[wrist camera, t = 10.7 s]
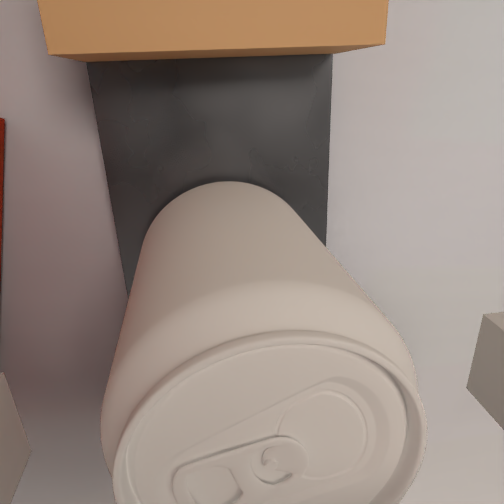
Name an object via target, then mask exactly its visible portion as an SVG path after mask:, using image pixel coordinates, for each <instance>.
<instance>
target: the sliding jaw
mask: <svg viewBox="0 0 504 504" xmlns="http://www.w3.org/2000/svg"><path fill="white" fill-rule="evenodd" d="M388 1H389V0H37V2H38V7H39V11H40V16H41V21H42V26H43V30H44V35H45V40H46V45H47V50H48V54H49V55H53V56H58V57H63V58H68V59H73V60H78V61H82V62H98V61H128V60H158V59H188V58H218V57H248V56H278V55H308V54H336V53H341V52H346V51H352V50H357V49H362V48H368V47H373V46H378V45H384V44H385V38H386V26H387V13H388Z"/></svg>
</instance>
